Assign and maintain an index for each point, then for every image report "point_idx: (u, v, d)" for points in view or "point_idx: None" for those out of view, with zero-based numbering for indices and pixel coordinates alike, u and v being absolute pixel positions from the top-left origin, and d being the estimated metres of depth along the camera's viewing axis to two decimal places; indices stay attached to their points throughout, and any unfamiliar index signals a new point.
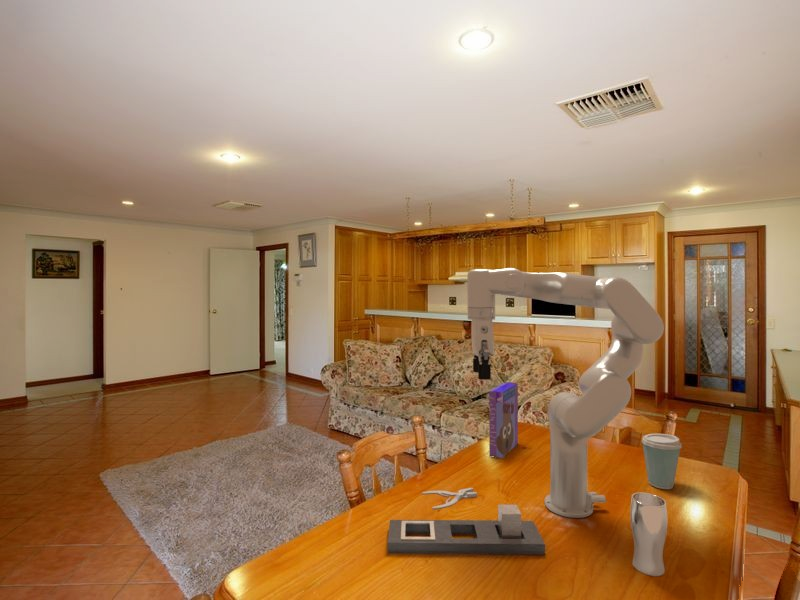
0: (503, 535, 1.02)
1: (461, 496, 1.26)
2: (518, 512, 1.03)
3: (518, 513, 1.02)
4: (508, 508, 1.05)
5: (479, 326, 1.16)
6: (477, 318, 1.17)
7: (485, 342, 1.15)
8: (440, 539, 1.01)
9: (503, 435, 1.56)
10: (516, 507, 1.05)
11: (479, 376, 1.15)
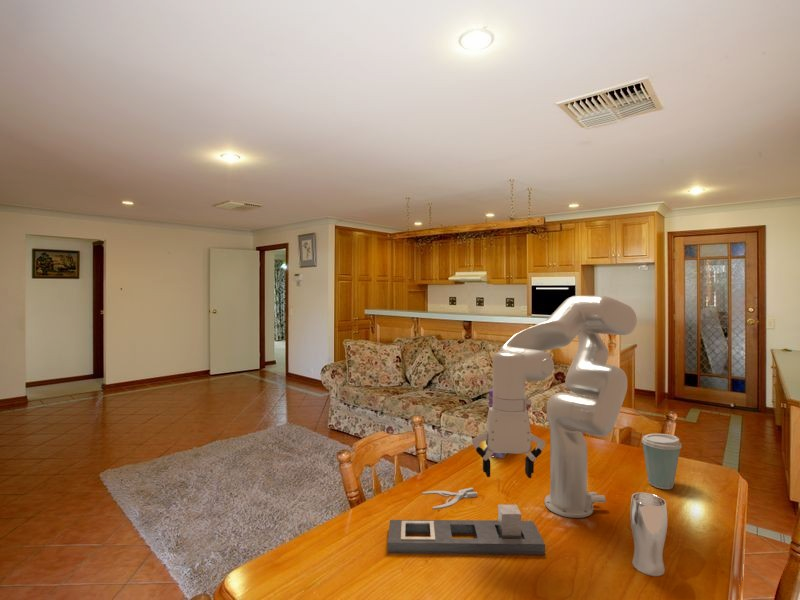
0: (503, 535, 1.02)
1: (461, 496, 1.26)
2: (518, 512, 1.03)
3: (518, 513, 1.02)
4: (508, 508, 1.05)
5: None
6: (524, 410, 1.02)
7: (531, 434, 1.04)
8: (440, 539, 1.01)
9: None
10: (516, 507, 1.05)
11: None
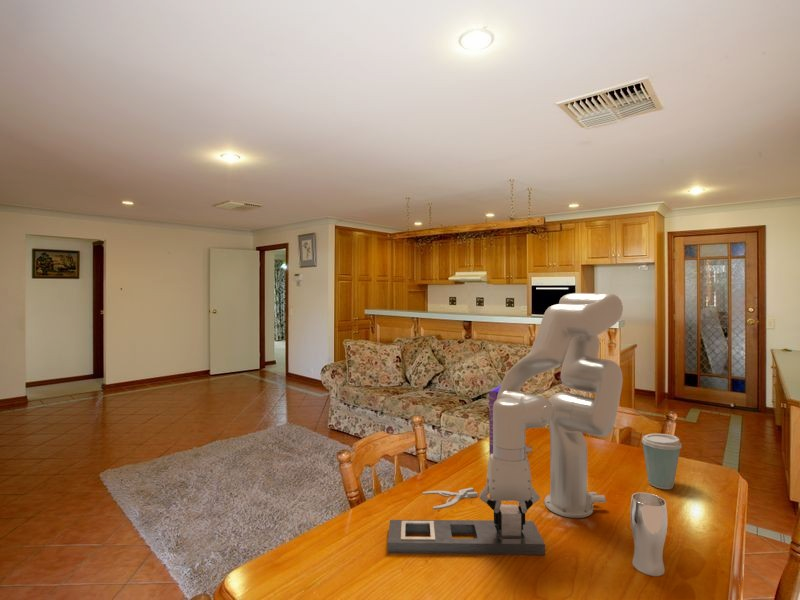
0: (503, 535, 1.02)
1: (461, 496, 1.26)
2: (518, 512, 1.03)
3: (518, 513, 1.02)
4: (508, 508, 1.05)
5: (529, 466, 1.03)
6: (525, 458, 1.02)
7: None
8: (440, 539, 1.01)
9: None
10: (516, 507, 1.05)
11: (522, 526, 1.03)
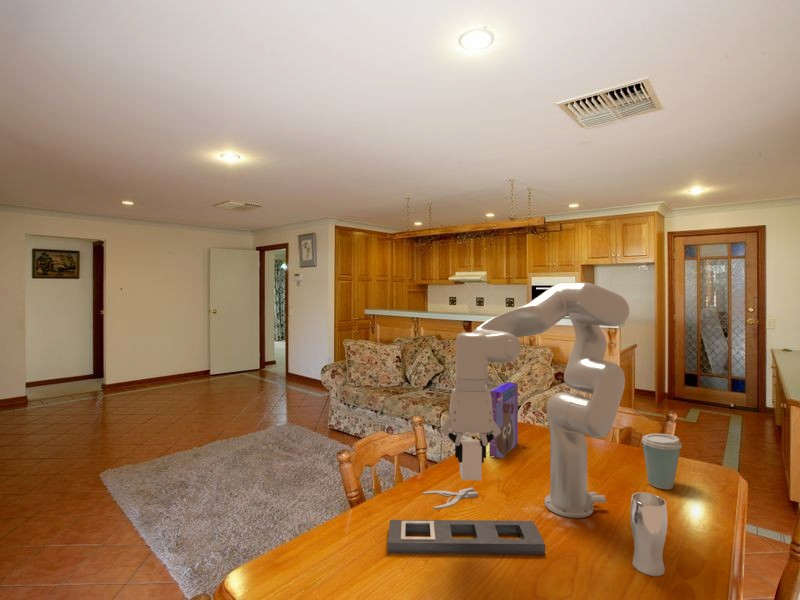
0: (463, 467, 1.02)
1: (462, 496, 1.26)
2: (479, 445, 1.02)
3: (479, 445, 1.02)
4: (469, 442, 1.04)
5: None
6: (486, 390, 1.02)
7: None
8: (440, 539, 1.01)
9: (503, 435, 1.56)
10: (478, 441, 1.05)
11: None
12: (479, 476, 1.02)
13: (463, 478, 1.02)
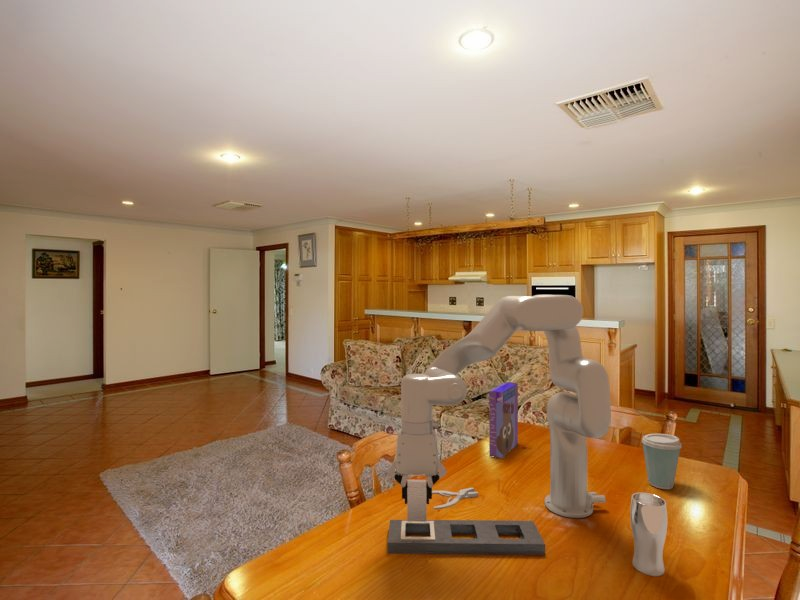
0: (408, 509, 1.03)
1: (462, 496, 1.26)
2: (424, 486, 1.03)
3: (424, 487, 1.03)
4: (415, 482, 1.05)
5: (435, 440, 1.03)
6: (431, 432, 1.03)
7: (438, 459, 1.05)
8: (440, 539, 1.01)
9: (503, 435, 1.56)
10: (424, 482, 1.05)
11: (428, 500, 1.03)
12: (424, 517, 1.02)
13: (408, 519, 1.03)
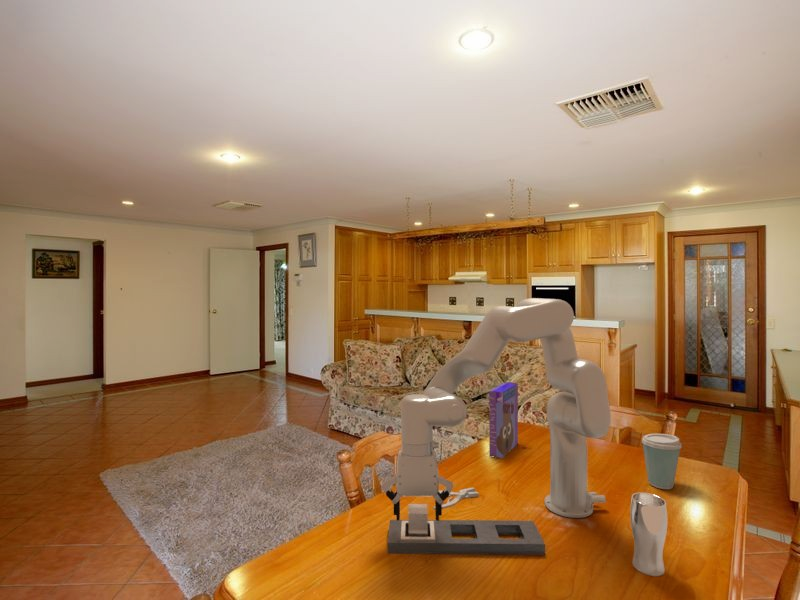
0: (410, 534, 1.03)
1: (462, 496, 1.26)
2: (425, 511, 1.03)
3: (425, 512, 1.03)
4: (417, 507, 1.05)
5: (436, 461, 1.03)
6: (431, 453, 1.03)
7: (440, 476, 1.05)
8: (440, 539, 1.01)
9: (503, 435, 1.56)
10: (425, 506, 1.06)
11: (438, 517, 1.03)
12: None
13: None
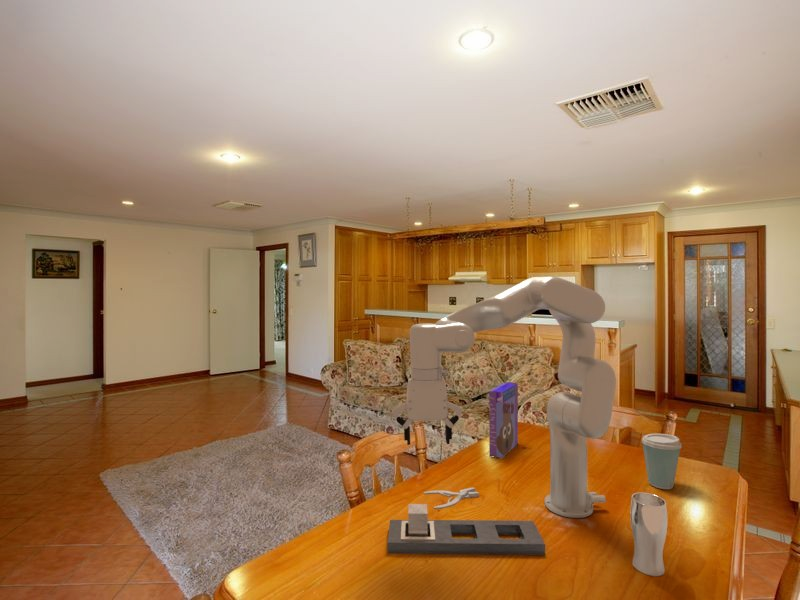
0: (410, 534, 1.03)
1: (463, 496, 1.26)
2: (425, 511, 1.03)
3: (425, 512, 1.03)
4: (417, 507, 1.05)
5: (445, 386, 1.06)
6: (440, 378, 1.05)
7: (449, 402, 1.07)
8: (440, 539, 1.01)
9: (503, 435, 1.56)
10: (425, 506, 1.06)
11: None
12: None
13: None
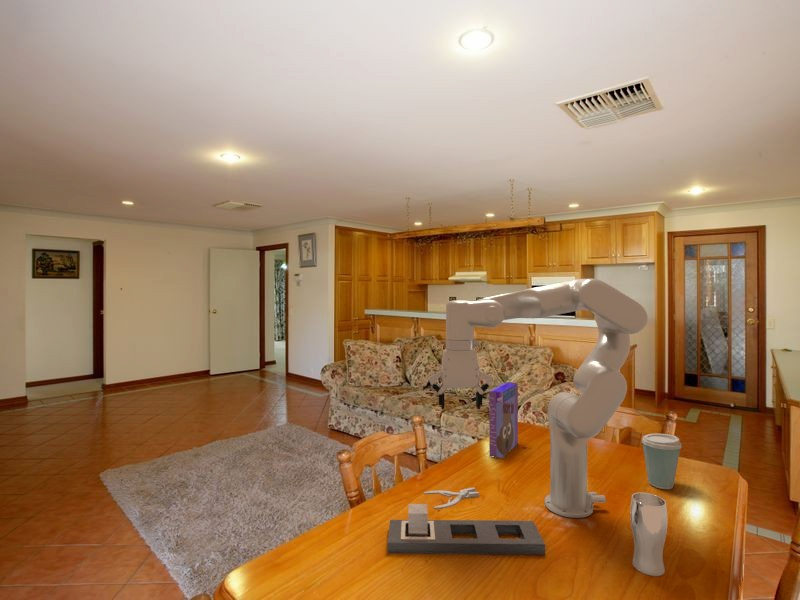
0: (410, 534, 1.03)
1: (463, 496, 1.26)
2: (425, 511, 1.03)
3: (425, 512, 1.03)
4: (416, 507, 1.05)
5: (477, 357, 1.17)
6: (473, 349, 1.17)
7: (480, 371, 1.19)
8: (440, 539, 1.01)
9: (503, 435, 1.56)
10: (425, 506, 1.06)
11: (479, 406, 1.17)
12: None
13: None
